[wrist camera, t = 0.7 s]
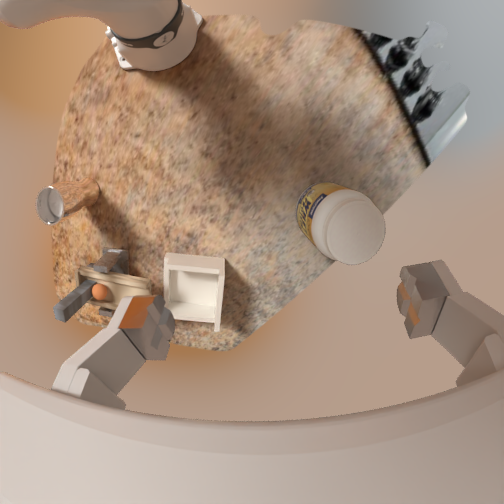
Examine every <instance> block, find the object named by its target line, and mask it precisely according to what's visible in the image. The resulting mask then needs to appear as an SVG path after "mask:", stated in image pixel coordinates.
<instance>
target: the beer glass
mask: <svg viewBox="0 0 504 504" xmlns="http://www.w3.org/2000/svg"><path fill="white" fill-rule="evenodd" d="M98 197H99V186H98V184H97V182H96V181H95V180H94V179H92V178H89V177H86V178H83V179H81V180H79V181H78V182H76V181H61V182H57V183H54V184H51V185H49V186H47V187H44V188H42V189H41V190H40V191H39V193H38V195H37V198H36V211H37V214H38V217H39V218H40V220H41V221H42V222H43V223H45V224H47V225H55V224H57V223H60V222H63V221H65V220H68V219H69V218H71V217H73V216H74V215H75V214H77V213H78V212H79V211H80V210H81V209H82V208H83V207H85V206H91V205H93V204H94V203H95V202H96V201H97V200H98Z"/></svg>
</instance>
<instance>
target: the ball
mask: <svg viewBox="0 0 504 504" xmlns="http://www.w3.org/2000/svg"><path fill="white" fill-rule="evenodd" d="M92 295H93V297H94V298H95V299H97V300H102V299H104V298H105V297H106V295H107V289H106V287H105V286H104V285H103V284H100V283H99V284H96V285H94V286H93V288H92Z"/></svg>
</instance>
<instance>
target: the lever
mask: <svg viewBox="0 0 504 504" xmlns="http://www.w3.org/2000/svg"><path fill="white" fill-rule="evenodd" d="M93 265H94V263H90V264H89V265H87V266H81V267H80V268H79V269H77V270H76V271H75V278H76V286H77V288H76V289H74V290H73V291H72V292H71V293H70V294H68V295H67V296H66V297H65V298H63V299H62V300H61V301H60V302H59V303H58V304H56V305H55V306H54V307H53V309H54V313H55V318H56V319H57V320H60V321H63V322H66V321H68V320H69V319H70V318H71V317H72V316H73V315H74V314H75V313H76V312H77V311H78V310H79V309H80V308H81V307H82V306H83V305H84V304H85V303H90V304H93V305H97V306H101V307H105V308H109V309H113V310H116V309H117V307H118V305H119V303H120V301H121V299H122V298H123V297H125V296H136V295H152V293H151V279H147V278H141V277H136V276H131V275H125V274H120V273H115V272H110V271H109V272H108V273H105V272H97V271H94V267H93ZM99 283H100V284H103V285H104V286H105V287H106V289H107V295H106V297H105V298H104V299H102V300H97V299H95V298H94V297H93V295H92V288H93V286H94V285H96V284H99Z"/></svg>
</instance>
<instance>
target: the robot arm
mask: <svg viewBox="0 0 504 504" xmlns="http://www.w3.org/2000/svg"><path fill="white" fill-rule="evenodd" d="M78 16H79V17H91V18H96V19H99V20H100V21H102V22H103V23H105V24H106V25H107V28H108V30H107V31H106V35H107V37H108V38H109V39H111V40H112V45H113V46H114V49H115V52H116V55H117V58H118V61H119V64H120V66H121V68H122V69H124V70H129V69H135V68H138V69H142V70H147V71H160V70H165V69H168V68H171V67H173V66H175V65H177V64H178V63H180V62H181V61H183V60H184V59H185V58H186V57H187V56H188V55H189V54H190V52H191V51H192V49H193V48H194V46H195V43H196V39H197V31H198V28H199V27H200V25H201V24H202V21H203V18H202V16H201V15H199V14H198V13H197V12H195V11H194V10H193V9H192V8H191V7H190V6H187V5H186V4H184V3H183V2H182V1H181V0H0V21H1V22H2V23H4V24H5V25H7V26H9V27H13V28H18V29H28V28H31V27H34V26H36V25H39V24H41V23H44V22H47V21H50V20H54V19H58V18H64V17H78ZM124 59H125V61H123V60H124ZM400 278H401V280H402V282H401V283H400V285H399V286H398V289H397V304H398V308H399V311H400V313H401V314H402V315H404V316H405V317H406V319H405V322H404V324H405V327H406V330H407V333H408V336H409V338H410V339H412V338H417V337H422V336H427V335H432V337H433V338H434V339H435V340H437V341H438V342H439V343H440V344H441V345H442V346H443V347H444V348H445V349H446V350H447V351H448V352H449V353H450V354H451V355H452V356H453V357H454V358H456V360H457V361H458V362H459V363H460V364H462V365H463V366H464V367H465V369H464V370H463V371H462V373H461V374H460V375H459V377H458V378H457V380H456V384H457V387H456V388H453V389H450V390H447V391H444V392H441V393H438V394H435V395H431V396H428V397H424V398H421V399H417V400H413V401H410V402H406V403H402V404H398V405H393V406H389V407H384V408H379V409H374V410H369V411H364V412H358V413H352V414H346V415H338V416H330V417H322V418H313V419H301V420H286V421H255V422H253V421H246V422H245V421H212V420H198V419H187V418H176V417H167V416H161V415H153V414H147V413H141V412H135V411H130V410H125V406H126V404H125V402H124V401H123V400H122V399H120V398H119V397H118V396H117V394H118V393H119V392H120V391H121V389H122V388H123V387H124V386H125V385H126V384H127V383H128V382H129V380H130V379H131V378H132V377H133V376H134V375H135V373H136V372H137V371H138V370H139V369H140V368H141V366H142V365H143V364H144V363H145V362H146V360H166V357H167V354H168V350H169V347H170V344H169V342H168V340H169V339H170V338H171V337H172V336H173V334H174V330H175V320H174V317H173V314H172V312H171V311H170V310H169V309H167V308H166V307H164V306H165V303H166V302H165V300H164V298H163V297H162V295H136V296H125V297H123V298H122V299H121V301H120V303H119V305H118V307H117V309H116V311H115V313H114V315H113V317H112V319H111V321H110V323H109V325H108V327H107V329H103V330H101V331H100V332H99V333H98V334H97V335H95V336H94V337H93V338H92V339H91V340H90V341H88V342H87V343H86V344H85V345H84V346H82V347H81V348H80V349H79V350H78V351H77V352H76V353H74V354H73V355H72V356H71V357H70V358H69V359H67V360H66V361H65V362H64V363H63V364H62V366H61V368H60V371H59V373H58V375H57V377H56V379H55V382H54V384H53V386H52V389H51V390H49V389H46V388H43V387H41V386H38V385H35V384H33V383H30V382H27V381H25V380H22V379H20V378H17V377H15V376H13V375H11V374H8V373H6V372H0V504H504V316H503V315H502V314H500V313H499V312H497V311H496V310H494V309H493V308H491V307H490V306H488V305H487V304H485V303H484V302H482V301H481V300H479V299H478V298H476V297H474V296H473V295H471V294H469V293H468V292H463V291H462V289H461V288H460V286H459V284H458V283H457V281H456V279H455V278H454V276H453V275H452V273H451V272H450V270H449V268H448V267H447V266H446V264H445V262H444V261H442V260H438V261H432V262H429V263H422V264H416V265H411V266H405V267H402V269H401V273H400Z"/></svg>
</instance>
